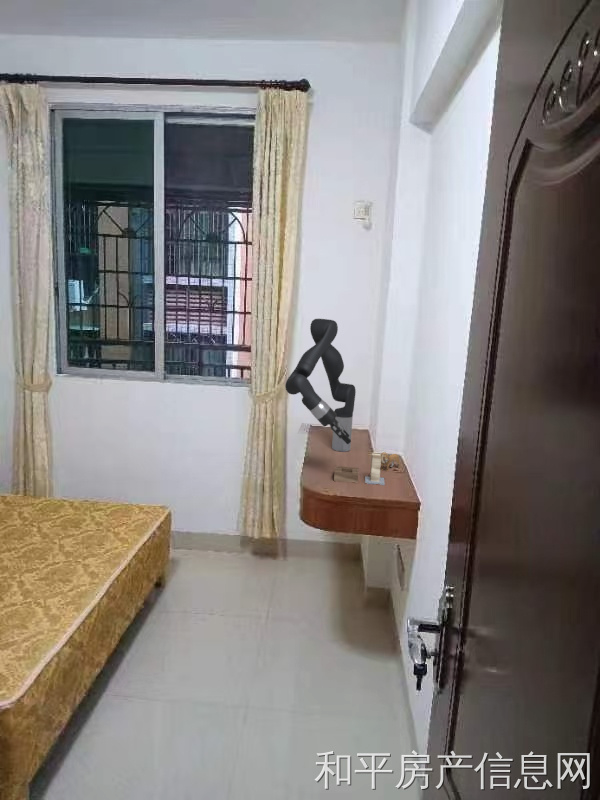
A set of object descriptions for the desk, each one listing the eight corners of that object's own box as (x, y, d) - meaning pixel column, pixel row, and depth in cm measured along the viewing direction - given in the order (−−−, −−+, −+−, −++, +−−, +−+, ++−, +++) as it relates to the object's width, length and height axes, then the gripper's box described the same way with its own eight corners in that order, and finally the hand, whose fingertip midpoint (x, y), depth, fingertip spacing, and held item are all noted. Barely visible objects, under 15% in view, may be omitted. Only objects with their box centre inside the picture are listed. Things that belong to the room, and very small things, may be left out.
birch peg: (369, 478, 252) (371, 453, 250) (378, 478, 252) (380, 453, 250) (370, 481, 248) (372, 455, 246) (379, 481, 248) (381, 456, 246)
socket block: (335, 473, 258) (335, 465, 257) (358, 475, 257) (358, 467, 256) (333, 480, 248) (334, 472, 247) (357, 482, 247) (358, 474, 246)
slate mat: (365, 477, 255) (365, 476, 255) (383, 479, 254) (384, 477, 254) (365, 483, 247) (365, 482, 247) (384, 485, 246) (384, 483, 246)
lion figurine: (385, 474, 261) (387, 454, 259) (375, 471, 264) (377, 451, 263) (403, 467, 272) (404, 448, 270) (393, 464, 275) (394, 446, 274)
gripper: (330, 410, 241) (357, 438, 244) (328, 403, 255) (353, 429, 258) (316, 422, 242) (343, 450, 245) (315, 414, 256) (340, 441, 259)
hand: (348, 439), depth 251 cm, fingers open, 8 cm apart
